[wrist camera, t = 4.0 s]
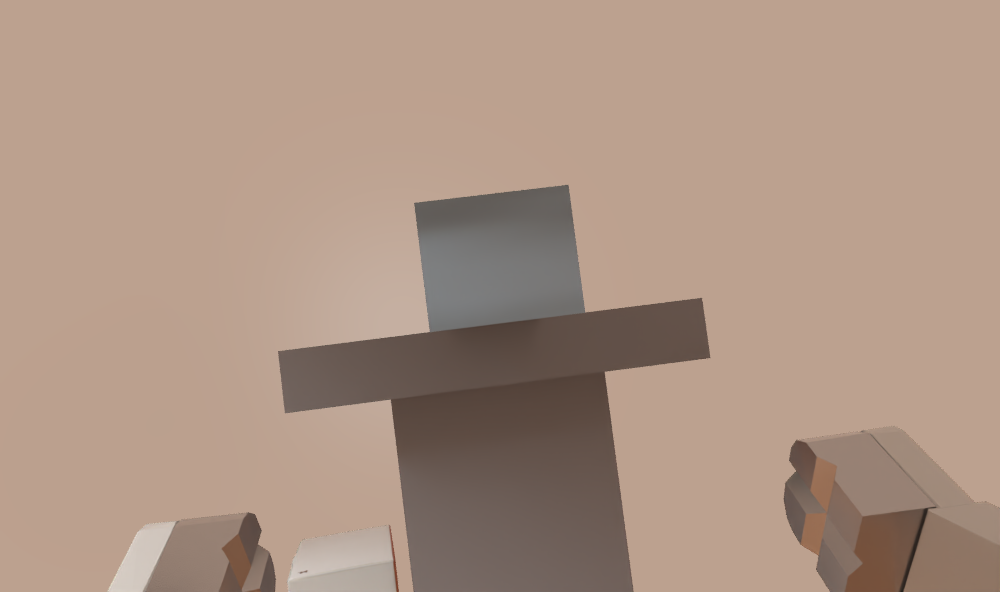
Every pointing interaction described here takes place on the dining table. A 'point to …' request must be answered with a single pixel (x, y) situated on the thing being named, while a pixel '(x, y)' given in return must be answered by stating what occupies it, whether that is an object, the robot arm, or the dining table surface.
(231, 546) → the robot arm
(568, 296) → the block
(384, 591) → the small box
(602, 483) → the plinth
